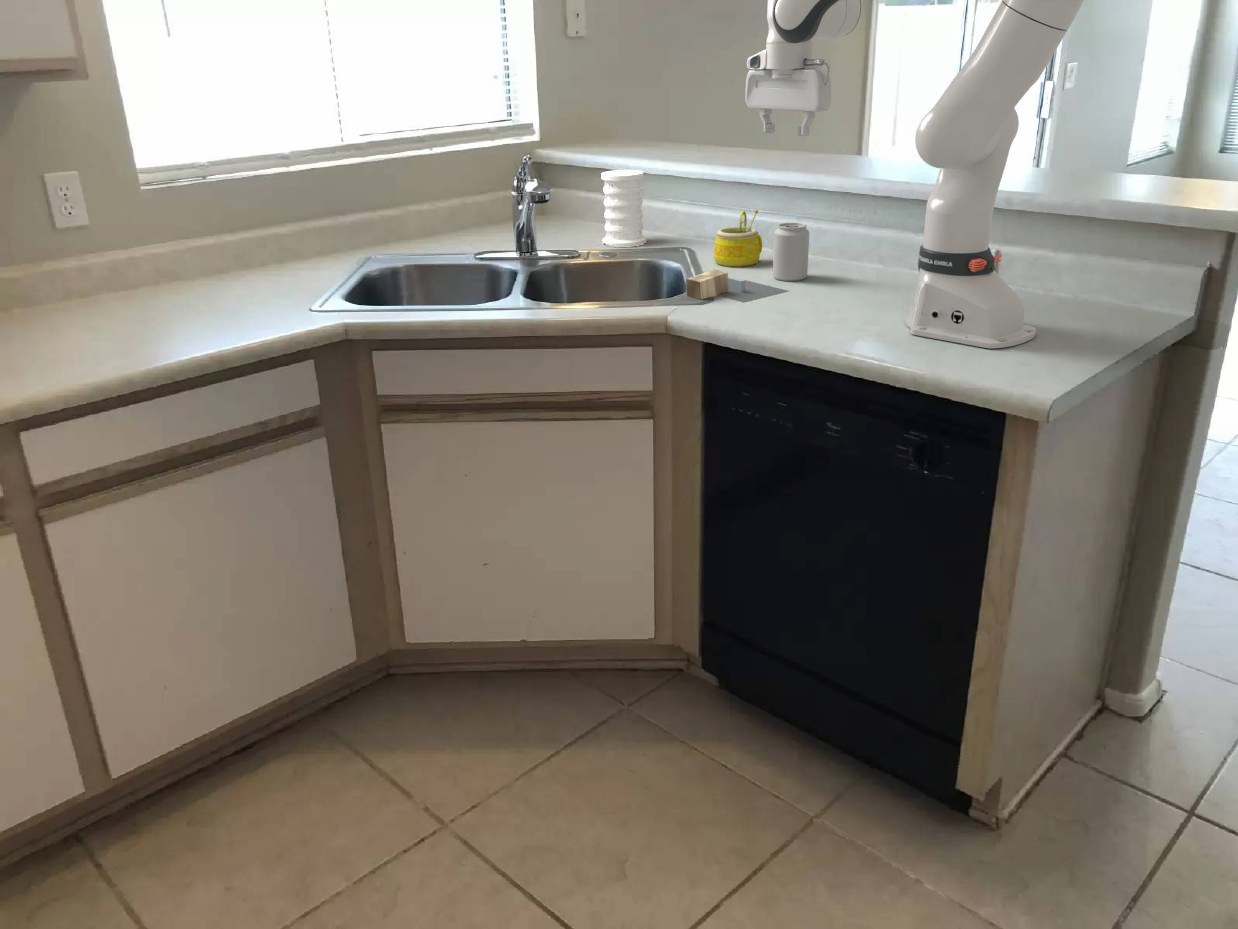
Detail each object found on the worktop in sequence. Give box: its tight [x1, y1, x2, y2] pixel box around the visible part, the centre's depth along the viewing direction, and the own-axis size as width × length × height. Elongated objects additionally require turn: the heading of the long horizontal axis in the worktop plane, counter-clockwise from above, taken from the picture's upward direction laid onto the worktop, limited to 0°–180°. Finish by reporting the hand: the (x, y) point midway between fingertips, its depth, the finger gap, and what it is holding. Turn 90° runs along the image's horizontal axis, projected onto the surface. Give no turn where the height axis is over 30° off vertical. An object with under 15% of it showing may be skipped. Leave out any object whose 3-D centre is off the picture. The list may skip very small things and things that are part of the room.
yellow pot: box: [713, 209, 763, 268], centre depth 220 cm, size 13×11×12 cm
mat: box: [717, 279, 789, 304], centre depth 198 cm, size 14×13×1 cm
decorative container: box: [600, 169, 647, 246], centre depth 245 cm, size 12×12×18 cm
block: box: [685, 268, 729, 300], centre depth 196 cm, size 4×4×8 cm
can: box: [772, 222, 810, 282], centre depth 204 cm, size 8×8×12 cm
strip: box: [728, 275, 746, 293], centre depth 199 cm, size 8×1×2 cm, turn 37°
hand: (785, 134), depth 187 cm, fingers open, 8 cm apart
